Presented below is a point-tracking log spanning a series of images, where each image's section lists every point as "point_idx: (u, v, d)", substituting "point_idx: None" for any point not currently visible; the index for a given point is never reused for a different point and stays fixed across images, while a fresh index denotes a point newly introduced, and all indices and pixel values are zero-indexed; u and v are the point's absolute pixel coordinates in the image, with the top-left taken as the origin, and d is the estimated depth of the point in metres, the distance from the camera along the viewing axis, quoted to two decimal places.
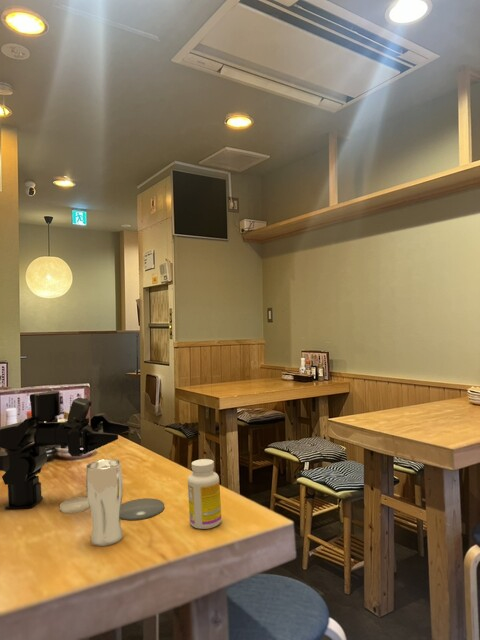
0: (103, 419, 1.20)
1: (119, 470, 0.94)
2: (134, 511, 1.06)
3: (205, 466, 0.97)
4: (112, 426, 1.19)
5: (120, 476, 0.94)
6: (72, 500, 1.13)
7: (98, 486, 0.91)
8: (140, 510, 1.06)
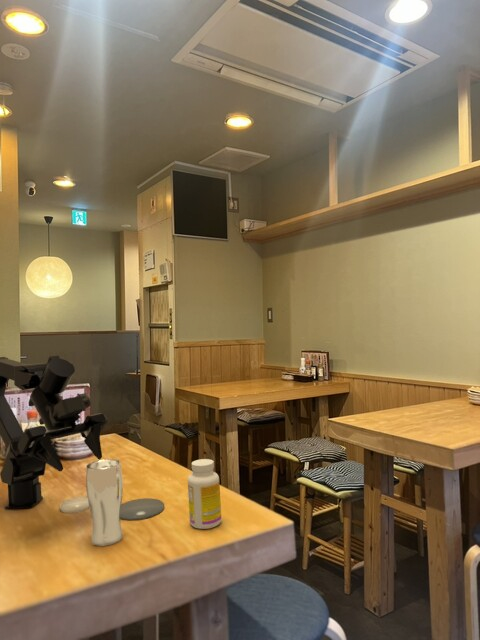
0: (92, 427, 1.05)
1: (119, 470, 0.94)
2: (134, 511, 1.06)
3: (205, 466, 0.97)
4: (93, 441, 1.05)
5: (120, 476, 0.94)
6: (72, 500, 1.13)
7: (98, 486, 0.91)
8: (140, 510, 1.06)
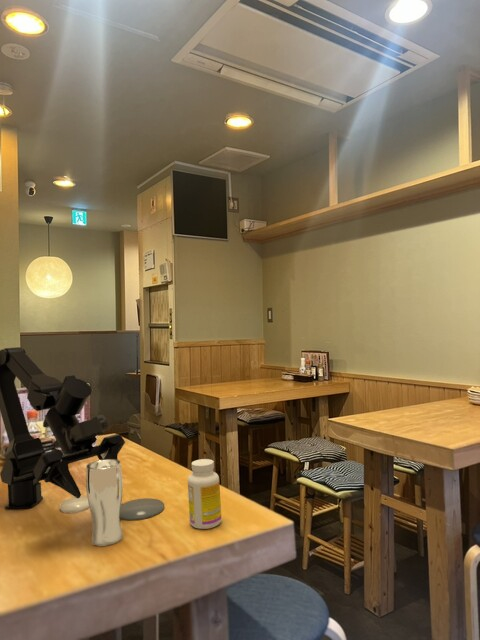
0: (110, 450, 1.01)
1: (119, 470, 0.94)
2: (134, 511, 1.06)
3: (205, 466, 0.97)
4: None
5: (120, 476, 0.94)
6: (72, 500, 1.13)
7: (98, 486, 0.91)
8: (140, 510, 1.06)
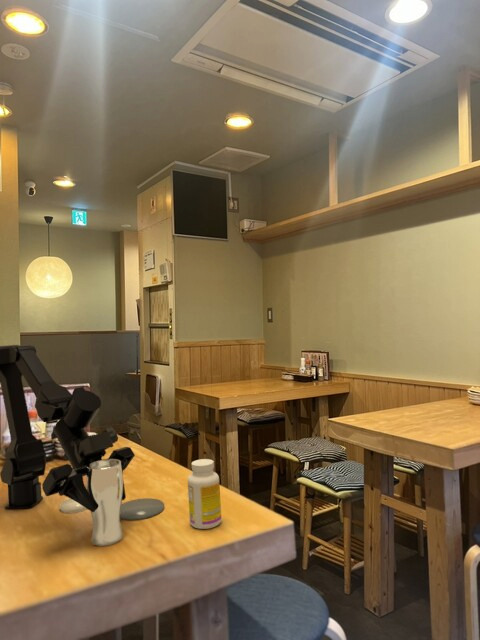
0: None
1: (119, 470, 0.94)
2: (134, 511, 1.06)
3: (205, 466, 0.97)
4: None
5: (120, 476, 0.94)
6: (71, 500, 1.13)
7: (98, 486, 0.91)
8: (140, 510, 1.06)
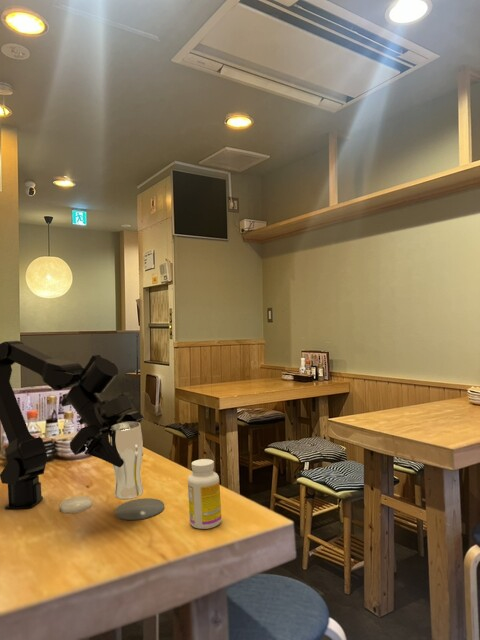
0: None
1: (140, 430, 1.02)
2: (134, 511, 1.06)
3: (205, 466, 0.97)
4: None
5: (141, 436, 1.02)
6: (70, 500, 1.13)
7: (124, 445, 0.99)
8: (140, 510, 1.06)
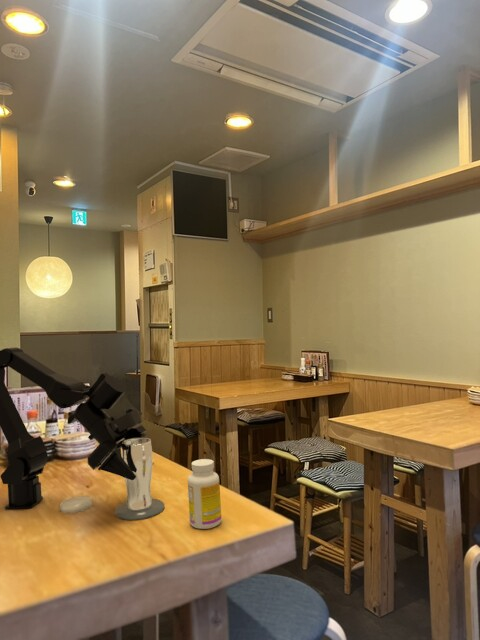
0: None
1: None
2: None
3: (205, 466, 0.97)
4: None
5: None
6: (68, 501, 1.12)
7: (139, 459, 1.06)
8: None
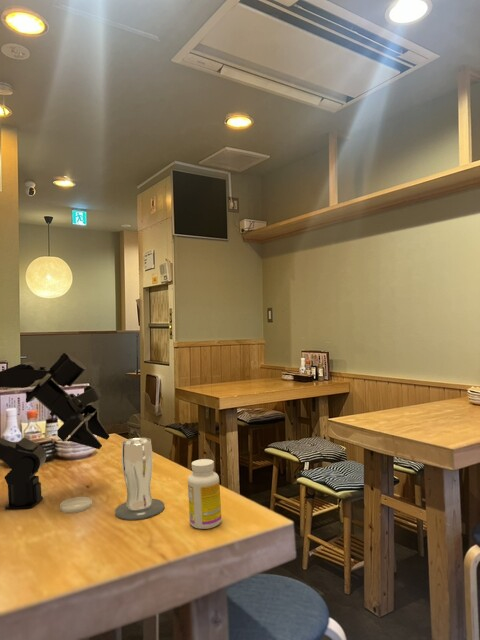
0: (95, 414, 1.22)
1: None
2: None
3: (205, 466, 0.97)
4: (97, 425, 1.22)
5: None
6: (67, 502, 1.12)
7: (139, 459, 1.06)
8: None
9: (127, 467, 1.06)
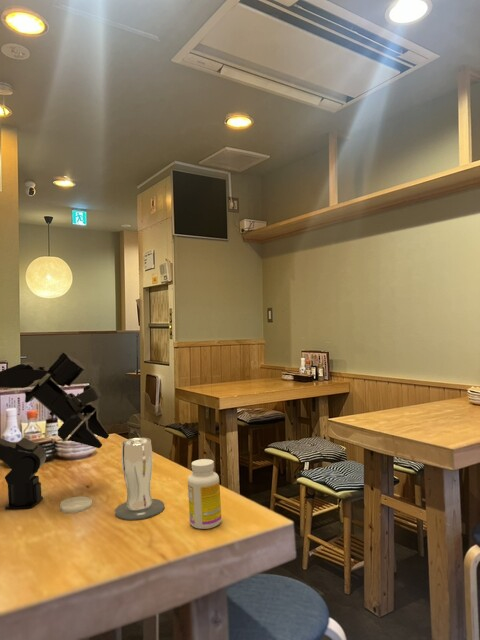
0: (94, 413, 1.23)
1: None
2: None
3: (205, 466, 0.97)
4: (96, 425, 1.22)
5: None
6: (67, 502, 1.12)
7: (139, 459, 1.06)
8: None
9: (127, 467, 1.06)
